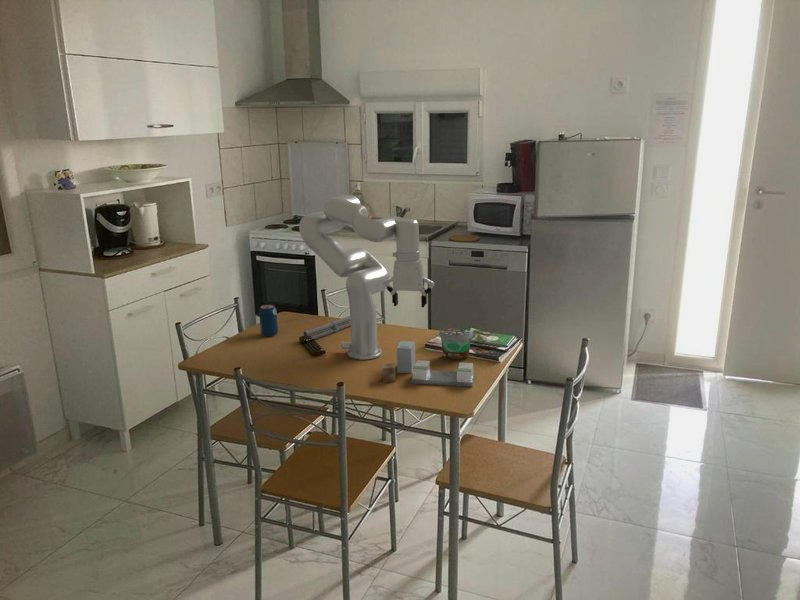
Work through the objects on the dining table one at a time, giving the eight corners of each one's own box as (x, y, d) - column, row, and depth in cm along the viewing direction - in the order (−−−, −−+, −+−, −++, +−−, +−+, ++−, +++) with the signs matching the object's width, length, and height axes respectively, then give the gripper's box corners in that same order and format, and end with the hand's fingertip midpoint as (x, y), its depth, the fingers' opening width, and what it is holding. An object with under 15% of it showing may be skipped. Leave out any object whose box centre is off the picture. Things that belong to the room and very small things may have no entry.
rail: (411, 383, 215) (411, 368, 214) (415, 373, 223) (415, 359, 221) (472, 386, 211) (472, 371, 210) (474, 377, 219) (474, 362, 218)
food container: (439, 362, 233) (439, 335, 230) (438, 355, 239) (438, 329, 236) (474, 361, 232) (474, 335, 230) (472, 355, 238) (473, 329, 236)
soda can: (282, 333, 267) (279, 305, 264) (270, 338, 261) (267, 309, 258) (269, 330, 271) (267, 303, 267) (257, 335, 265) (254, 307, 262)
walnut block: (383, 382, 217) (382, 368, 215) (382, 377, 221) (382, 363, 219) (395, 381, 217) (394, 367, 216) (394, 377, 221) (394, 363, 220)
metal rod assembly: (308, 344, 255) (307, 331, 253) (303, 342, 256) (302, 330, 255) (353, 326, 274) (353, 315, 272) (348, 325, 275) (348, 314, 274)
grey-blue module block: (397, 372, 225) (396, 347, 222) (401, 364, 231) (400, 340, 229) (411, 373, 224) (411, 348, 221) (415, 365, 230) (414, 341, 228)
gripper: (380, 258, 216) (382, 307, 221) (431, 259, 212) (432, 310, 217) (386, 253, 223) (388, 301, 228) (435, 254, 219) (436, 303, 224)
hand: (409, 305), depth 222 cm, fingers open, 9 cm apart
